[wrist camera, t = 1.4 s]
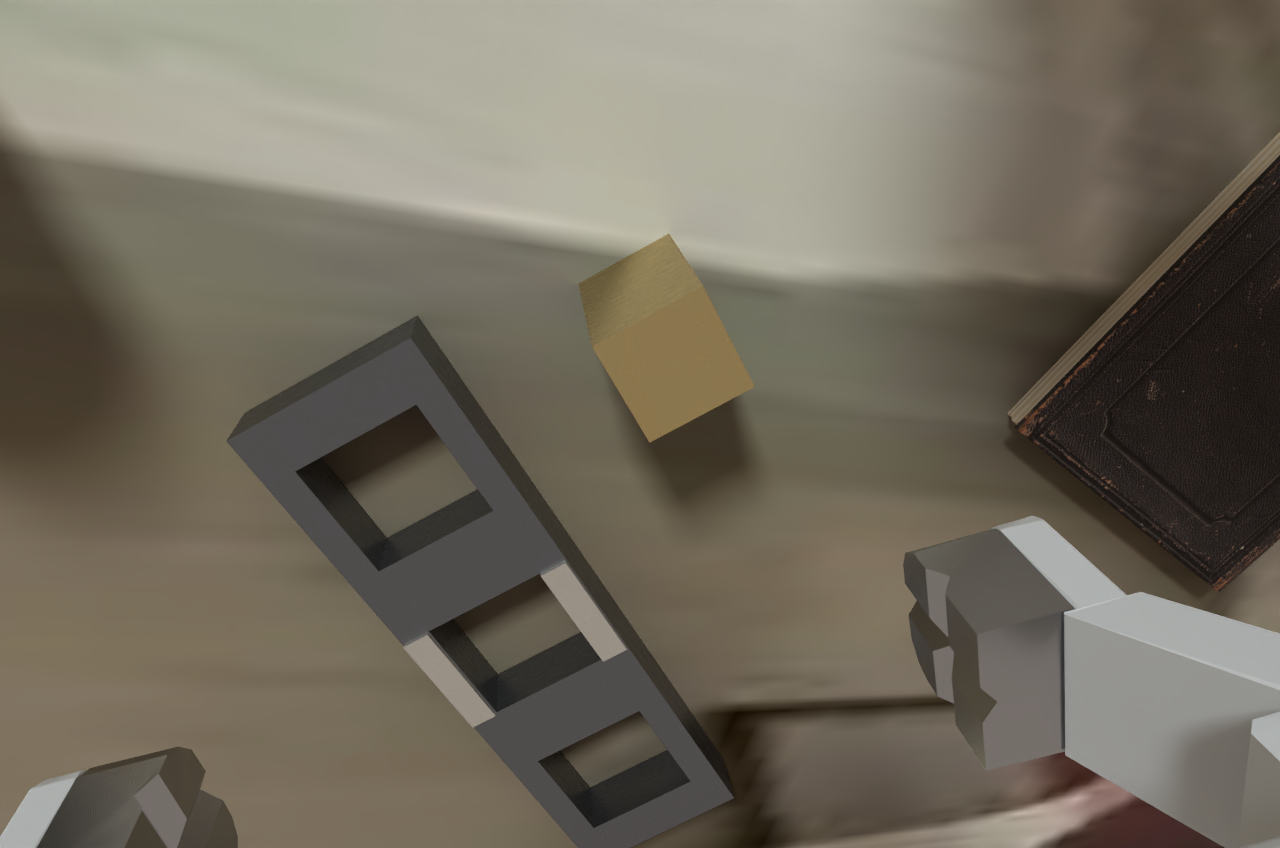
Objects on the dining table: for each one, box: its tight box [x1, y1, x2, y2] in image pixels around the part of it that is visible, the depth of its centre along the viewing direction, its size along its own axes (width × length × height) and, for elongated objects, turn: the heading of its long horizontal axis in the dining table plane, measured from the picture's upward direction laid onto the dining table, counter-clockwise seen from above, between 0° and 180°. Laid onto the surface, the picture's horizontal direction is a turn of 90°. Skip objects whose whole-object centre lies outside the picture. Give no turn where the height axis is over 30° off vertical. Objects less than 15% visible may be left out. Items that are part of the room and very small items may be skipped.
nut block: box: [579, 234, 755, 443], centre depth 32 cm, size 4×4×7 cm
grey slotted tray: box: [227, 316, 734, 848], centre depth 40 cm, size 8×28×3 cm, turn 28°
